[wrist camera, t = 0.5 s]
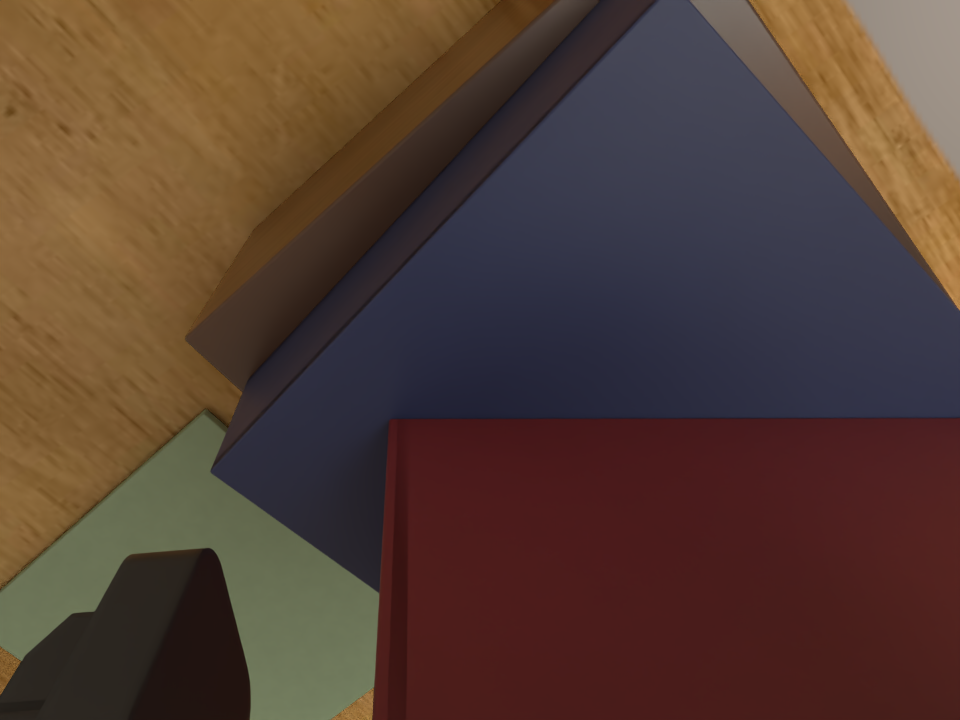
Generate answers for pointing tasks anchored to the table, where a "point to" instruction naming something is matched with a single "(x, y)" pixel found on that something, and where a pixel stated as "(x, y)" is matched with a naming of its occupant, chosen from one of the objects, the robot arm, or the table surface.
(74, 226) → the table surface
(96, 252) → the table surface
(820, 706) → the top book
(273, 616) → the felt mat
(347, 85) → the table surface
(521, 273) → the bottom book
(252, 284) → the riser
